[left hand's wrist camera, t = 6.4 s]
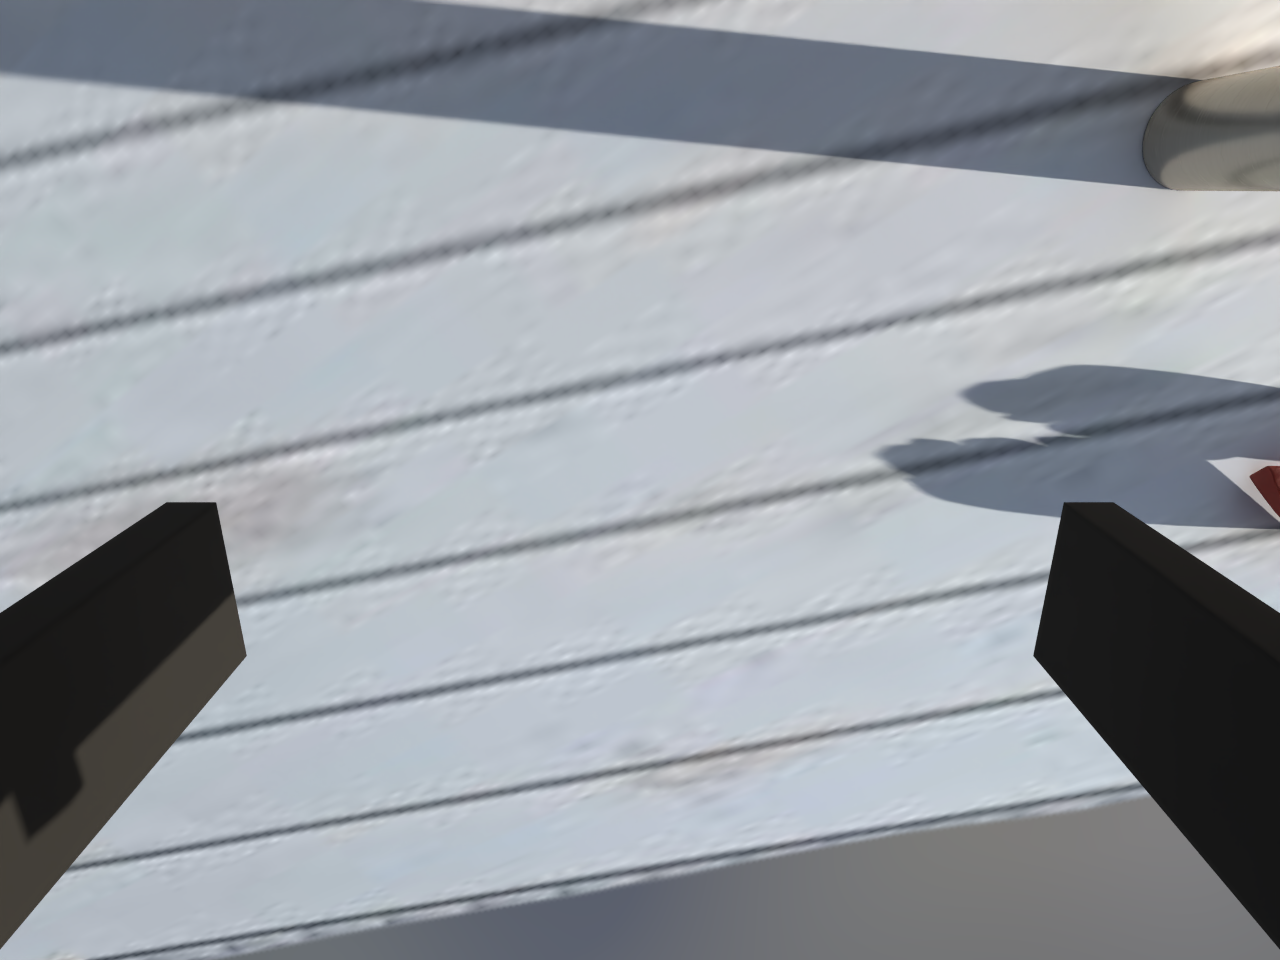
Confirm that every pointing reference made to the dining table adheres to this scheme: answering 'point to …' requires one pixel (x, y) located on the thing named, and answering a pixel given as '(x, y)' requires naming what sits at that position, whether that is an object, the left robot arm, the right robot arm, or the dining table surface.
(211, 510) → the left robot arm
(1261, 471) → the dental model
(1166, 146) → the bottle
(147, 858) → the dining table surface
